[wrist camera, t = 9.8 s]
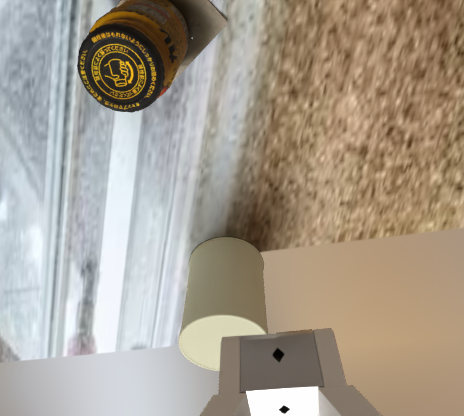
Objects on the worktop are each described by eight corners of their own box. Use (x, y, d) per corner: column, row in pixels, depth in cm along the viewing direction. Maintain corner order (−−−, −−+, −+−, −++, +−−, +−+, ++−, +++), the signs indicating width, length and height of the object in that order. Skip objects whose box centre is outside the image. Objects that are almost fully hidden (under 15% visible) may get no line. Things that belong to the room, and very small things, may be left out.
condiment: (97, 31, 33) (39, 71, 24) (160, -53, 30) (123, -47, 20) (163, 92, 36) (136, 150, 26) (228, 22, 33) (224, 58, 23)
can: (202, 296, 52) (193, 381, 42) (179, 244, 47) (163, 327, 37) (270, 284, 50) (278, 369, 41) (254, 229, 45) (259, 311, 35)
